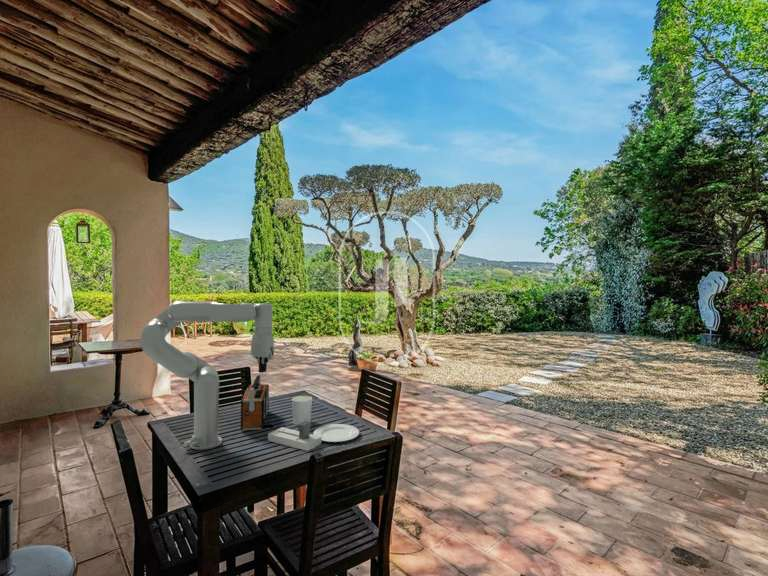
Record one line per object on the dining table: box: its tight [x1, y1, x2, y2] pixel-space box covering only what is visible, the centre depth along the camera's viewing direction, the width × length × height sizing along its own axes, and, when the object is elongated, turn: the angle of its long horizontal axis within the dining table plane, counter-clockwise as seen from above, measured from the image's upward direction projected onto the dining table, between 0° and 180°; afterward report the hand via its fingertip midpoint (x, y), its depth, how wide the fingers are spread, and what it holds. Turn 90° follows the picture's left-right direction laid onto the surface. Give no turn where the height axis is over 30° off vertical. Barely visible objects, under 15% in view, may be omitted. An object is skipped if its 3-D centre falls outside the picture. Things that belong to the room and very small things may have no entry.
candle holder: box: [291, 395, 313, 426], centre depth 198 cm, size 10×10×12 cm
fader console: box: [267, 426, 323, 452], centre depth 175 cm, size 9×22×3 cm, turn 63°
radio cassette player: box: [240, 374, 270, 431], centre depth 198 cm, size 29×10×20 cm, turn 11°
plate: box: [313, 423, 360, 444], centre depth 182 cm, size 21×21×2 cm
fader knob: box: [297, 421, 312, 439], centre depth 172 cm, size 5×3×6 cm, turn 153°
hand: (262, 371), depth 180 cm, fingers closed
